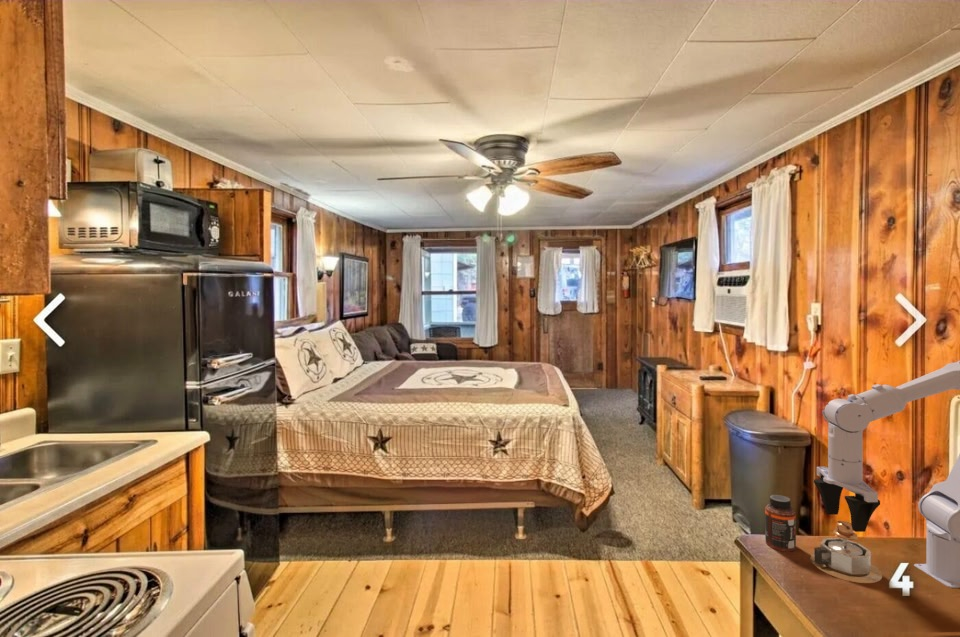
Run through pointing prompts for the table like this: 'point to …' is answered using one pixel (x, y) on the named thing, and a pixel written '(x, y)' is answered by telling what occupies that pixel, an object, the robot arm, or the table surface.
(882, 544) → the table surface
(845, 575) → the grey octagonal base
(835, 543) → the copper knob
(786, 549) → the supplement bottle
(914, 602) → the table surface
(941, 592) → the table surface
